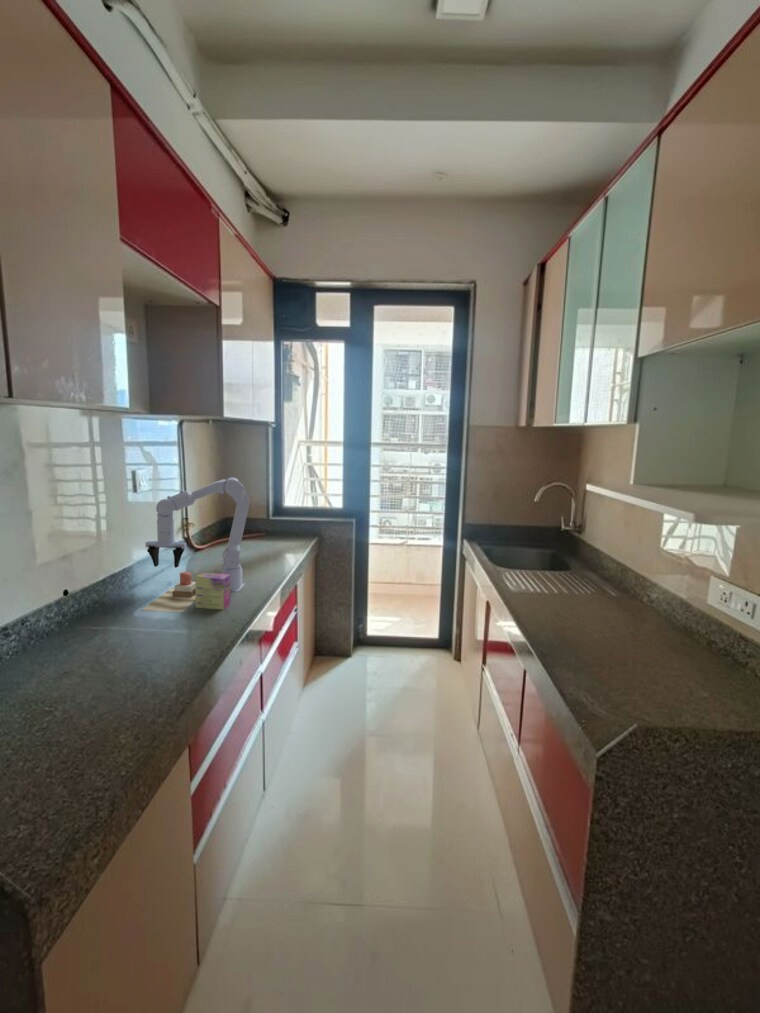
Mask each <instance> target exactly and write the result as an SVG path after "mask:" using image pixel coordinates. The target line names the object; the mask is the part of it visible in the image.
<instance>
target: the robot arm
mask: <svg viewBox="0 0 760 1013" xmlns="http://www.w3.org/2000/svg"><path fill="white" fill-rule="evenodd" d="M224 491H225V493H226V495H228V496H230V497H231V498H232V499H233V500H234V502H235V503H236V506H235V512H234V516H233V518H232V519H233V520H232V525H231V530H230V533H229V539H228V542H227V545H226V548H225V549H224V551H223V552H222V561H223V562H222V563H223V564H222V565H221V574H227V575H230V592H238V591H240V590H241V589H242V588H243V586H244V585H246V583H245V582H244V583H243V580H244V579H243V578H244V577H243V574H244V572H243V571H244V569H243V567H242V565H241V558H240V553H241V545H242V541H243V540H242V539H243V535H244V532H245V531H244V530H245V527H246V521H247V518H248V513H249V508H250V503H251V501H250V498H249V496H248V493H247V491H246V488H245V487H244V485H243V484H242V483H241V481H240V480H239V479H238V478H236V477H230V476H229V477H227V478H224V479H220V480H218V481H214V482H212V483H209V484H207V485H204V486H203V487H200V488H198V489H195V490H193V491H190V490H183V489H182V490H180V491H179V493H176V494H174V495H168V496H166V498H163V499H160V500H159V501H158V503H157V504H156V508H155V509H156V512H157V514H156V516H157V519H156V525H157V527H156V530H157V531H156V532H157V535H156V536H157V540H155V541H153V540H152V541H151V540H150V541H149V540H147V541H145V548H147V549H146V551H147V553H148V554H149V556H150V559H151V560H152V563H153V567H158V566H159V565H160V564H159V563H160V560H159V556H160V549H161V548H164V549H173V550H172V553H173V560H174V561H173V562H174V563H173V564H174V568H176V569H177V568H178V567H179V566H180V561H181V559H182V555H183V553H184V551H185V550H186V549H187V542H180V541H175V518H174V511H175V512H177V511H178V512H179V511H180V510H182V509H185V508H187V507H190V506H192V505H194V503H195V501H196V500H198V499H201V498H204V497H207V496H210V495H213V494H215V493H218V494H225V493H224Z"/></svg>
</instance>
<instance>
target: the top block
mask: <svg viewBox="0 0 760 1013" xmlns="http://www.w3.org/2000/svg"><path fill="white" fill-rule="evenodd" d="M173 588H174V590H175V591H184V592H191V591H192V590H194V589H195V588H196V581H192V584H190V585H180V581H179V582H178V583H176V584H175V585H174V587H173Z"/></svg>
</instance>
